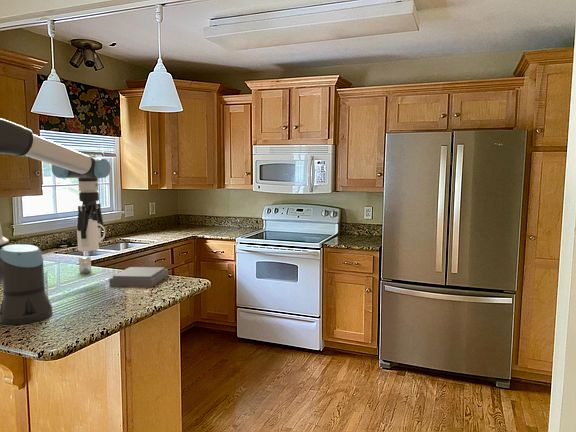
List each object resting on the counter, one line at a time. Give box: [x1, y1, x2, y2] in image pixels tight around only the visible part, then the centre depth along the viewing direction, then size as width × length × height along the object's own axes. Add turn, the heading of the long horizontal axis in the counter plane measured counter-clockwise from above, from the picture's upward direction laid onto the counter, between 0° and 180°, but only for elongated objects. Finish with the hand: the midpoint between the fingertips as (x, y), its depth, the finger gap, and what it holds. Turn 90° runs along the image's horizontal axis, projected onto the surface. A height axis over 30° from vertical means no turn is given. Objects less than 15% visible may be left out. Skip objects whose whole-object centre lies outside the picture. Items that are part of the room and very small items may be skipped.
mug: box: [76, 219, 107, 252], centre depth 190 cm, size 12×8×12 cm
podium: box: [109, 266, 169, 288], centre depth 190 cm, size 18×18×4 cm
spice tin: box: [78, 256, 92, 275], centre depth 206 cm, size 5×5×7 cm
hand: (91, 244), depth 190 cm, fingers closed on mug, 9 cm apart
